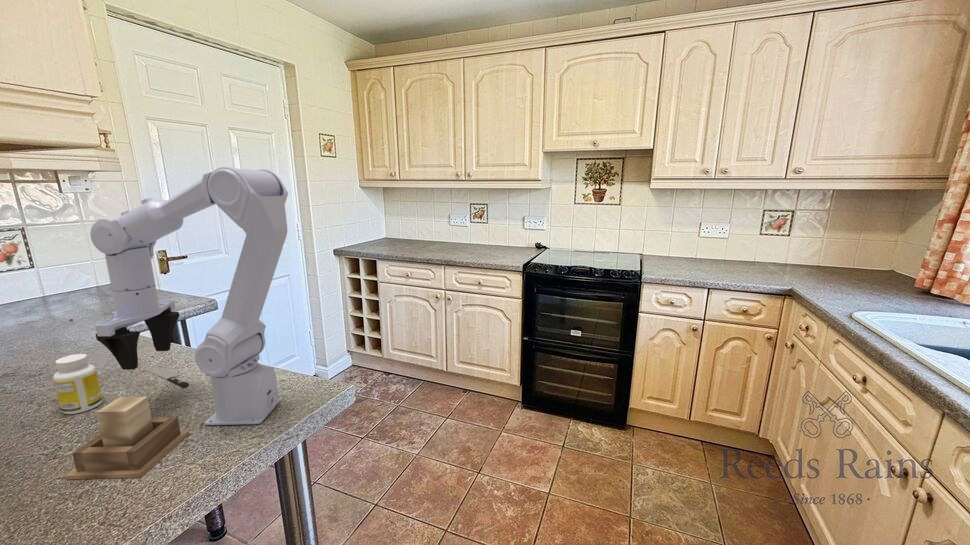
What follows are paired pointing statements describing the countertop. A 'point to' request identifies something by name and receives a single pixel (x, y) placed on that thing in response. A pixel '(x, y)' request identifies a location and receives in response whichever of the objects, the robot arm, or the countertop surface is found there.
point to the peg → (125, 421)
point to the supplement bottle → (76, 384)
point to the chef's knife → (167, 375)
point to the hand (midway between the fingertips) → (147, 359)
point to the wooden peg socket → (127, 453)
